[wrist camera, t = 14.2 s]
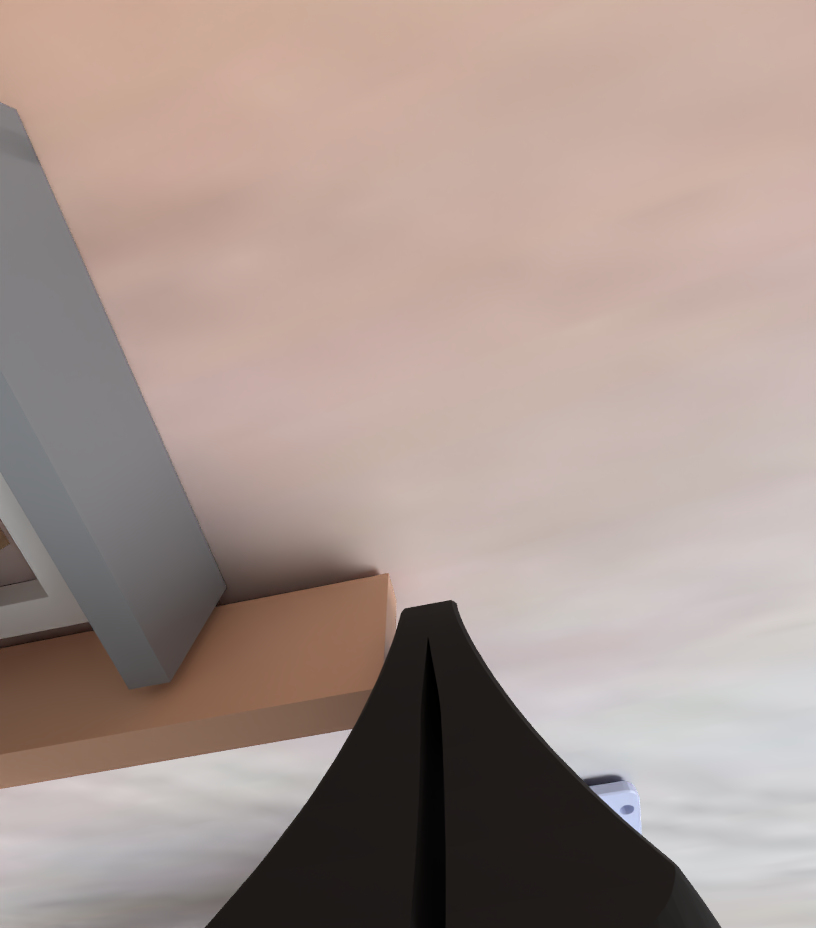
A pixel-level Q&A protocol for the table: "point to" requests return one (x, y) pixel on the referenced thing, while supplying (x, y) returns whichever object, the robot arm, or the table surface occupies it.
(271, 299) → the table surface
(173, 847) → the table surface
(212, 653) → the orange-brown plank
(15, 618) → the frame
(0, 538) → the block
